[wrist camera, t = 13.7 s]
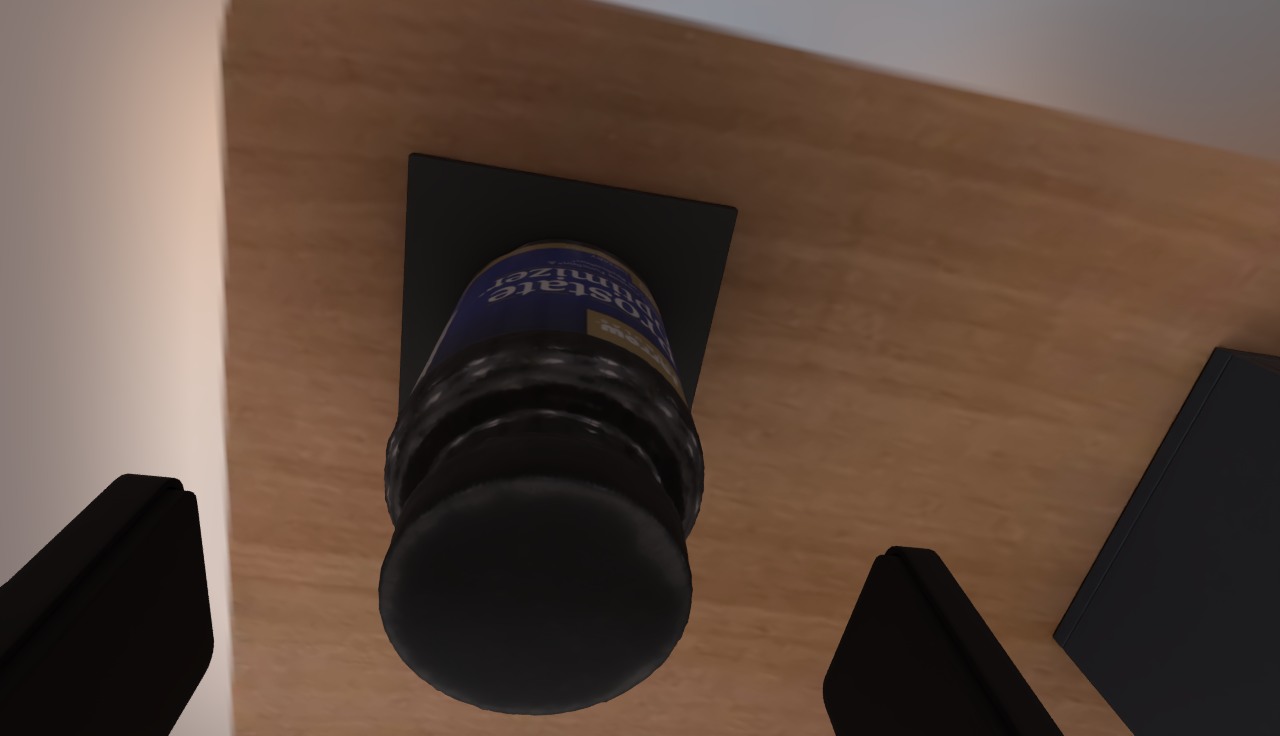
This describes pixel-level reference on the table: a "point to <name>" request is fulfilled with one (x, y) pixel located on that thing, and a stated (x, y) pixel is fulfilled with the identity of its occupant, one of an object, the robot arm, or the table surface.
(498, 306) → the pill bottle
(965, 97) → the table surface
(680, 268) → the mat
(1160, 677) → the chest
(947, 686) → the robot arm
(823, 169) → the table surface
